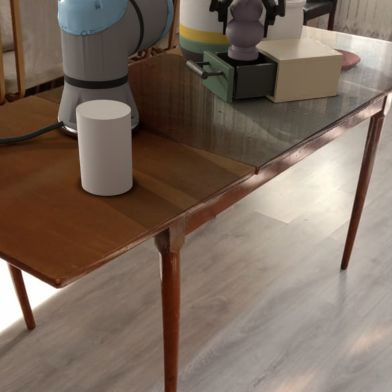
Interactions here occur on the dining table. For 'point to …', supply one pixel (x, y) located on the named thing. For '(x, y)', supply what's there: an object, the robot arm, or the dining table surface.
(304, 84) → the cabinet
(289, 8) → the jar
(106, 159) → the white cylinder
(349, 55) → the plate
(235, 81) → the drawer
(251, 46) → the cat figurine
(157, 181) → the dining table surface
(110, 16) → the robot arm
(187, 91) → the dining table surface
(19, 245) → the dining table surface
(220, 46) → the vase
